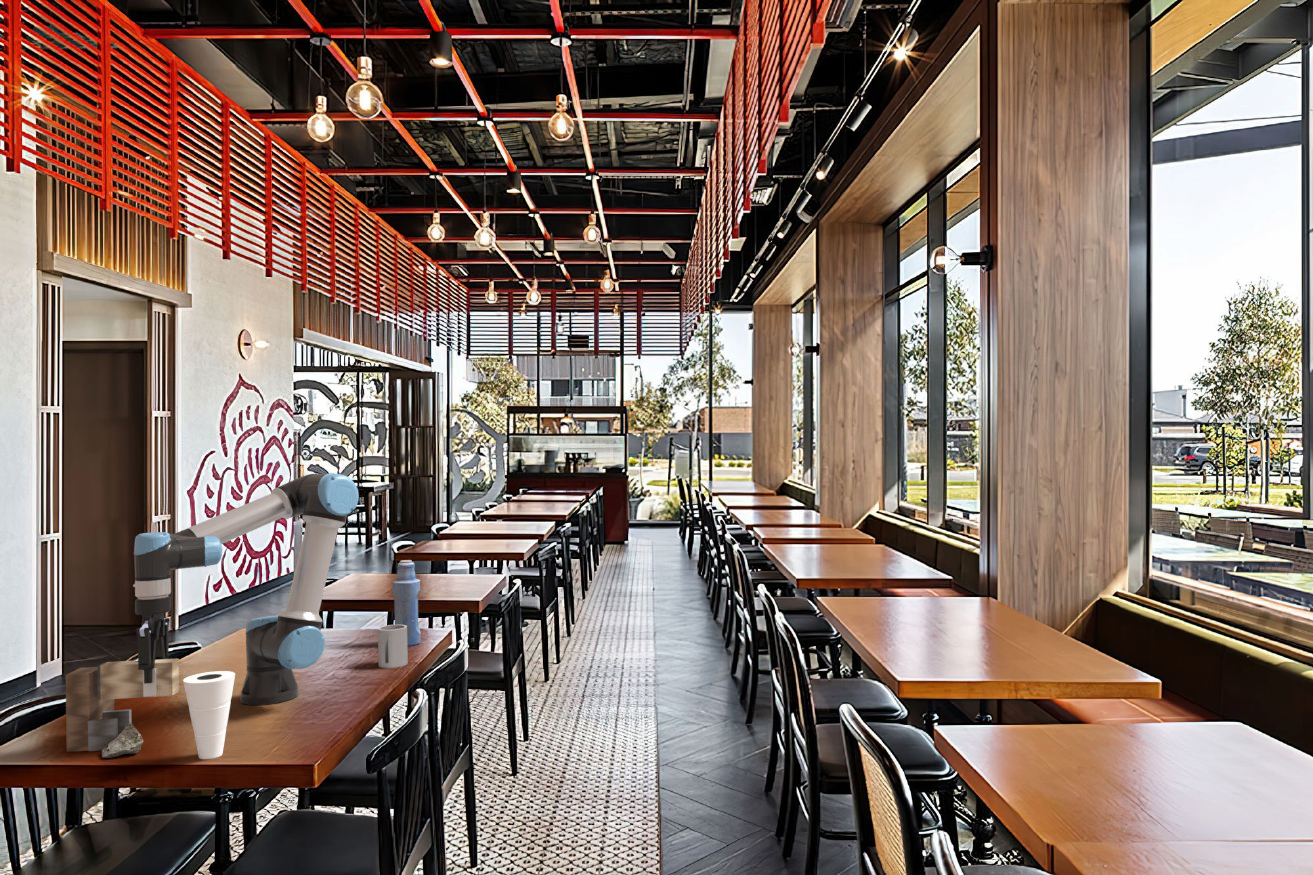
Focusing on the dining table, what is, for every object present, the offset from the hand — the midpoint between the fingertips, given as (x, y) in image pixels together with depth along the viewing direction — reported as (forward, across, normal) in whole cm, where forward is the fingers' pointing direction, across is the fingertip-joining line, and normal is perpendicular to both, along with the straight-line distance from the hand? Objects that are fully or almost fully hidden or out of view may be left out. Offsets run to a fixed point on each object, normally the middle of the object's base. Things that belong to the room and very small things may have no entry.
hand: (154, 693), depth 211 cm
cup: (+12, -66, +46) cm, 82 cm away
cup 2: (+12, +14, +17) cm, 25 cm away
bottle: (+12, -97, +47) cm, 108 cm away
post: (+12, -4, -12) cm, 18 cm away
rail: (0, 0, -3) cm, 3 cm away
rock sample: (+12, +8, -4) cm, 15 cm away
